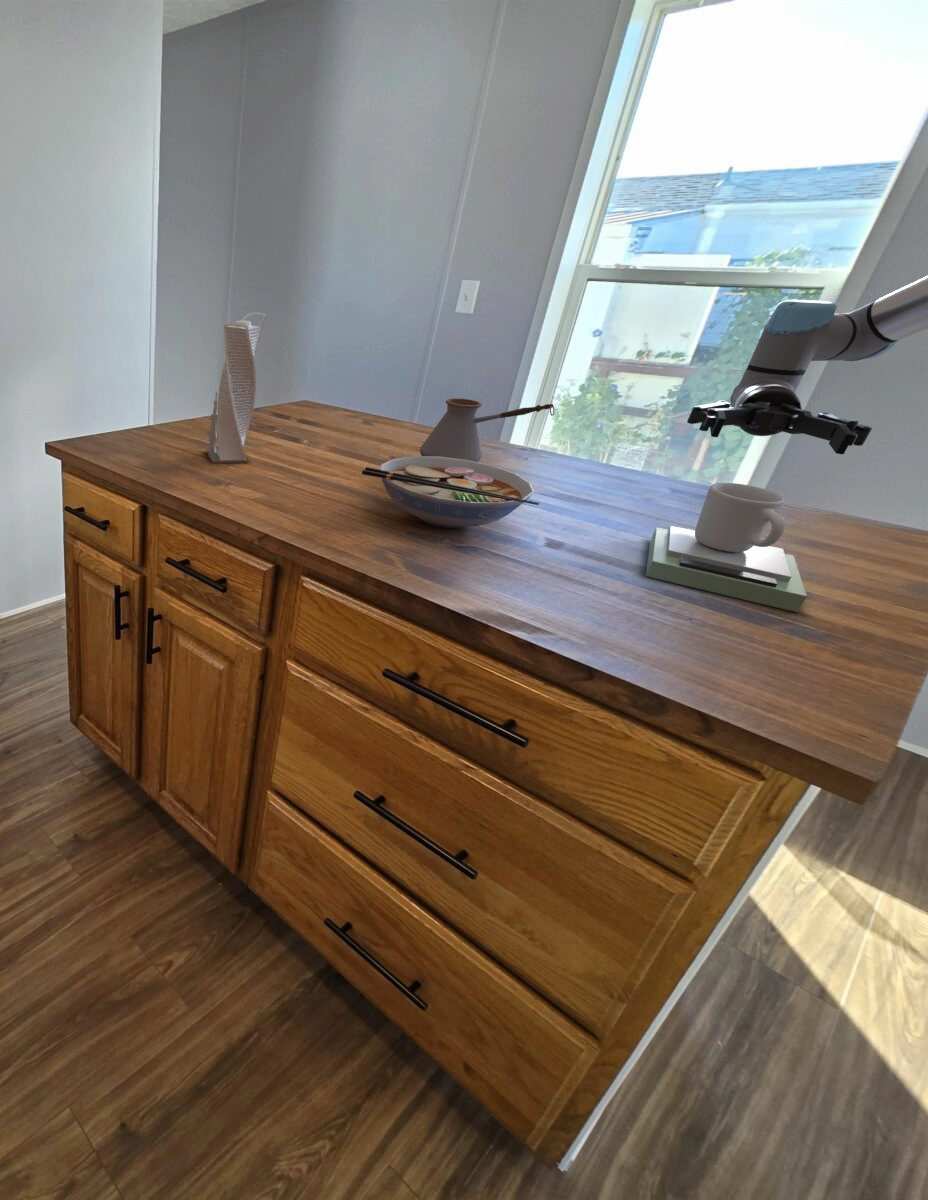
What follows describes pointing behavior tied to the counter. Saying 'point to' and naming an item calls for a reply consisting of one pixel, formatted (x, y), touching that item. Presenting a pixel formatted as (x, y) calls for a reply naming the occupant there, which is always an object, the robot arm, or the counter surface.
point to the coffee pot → (464, 430)
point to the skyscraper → (235, 392)
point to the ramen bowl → (452, 490)
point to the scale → (726, 569)
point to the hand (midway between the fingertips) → (779, 435)
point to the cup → (739, 517)
